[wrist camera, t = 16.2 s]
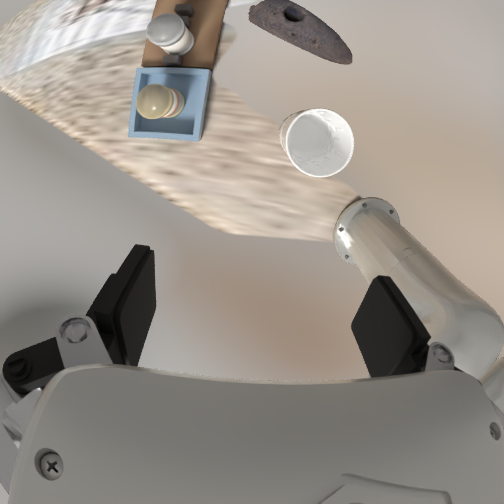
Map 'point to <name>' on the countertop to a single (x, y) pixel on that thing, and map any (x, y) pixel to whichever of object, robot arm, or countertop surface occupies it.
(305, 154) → the white cup
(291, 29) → the perforated stone tool
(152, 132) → the tray
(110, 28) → the countertop surface
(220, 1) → the fuse holder
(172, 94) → the marked fuse
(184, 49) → the grey rounded cylinder
